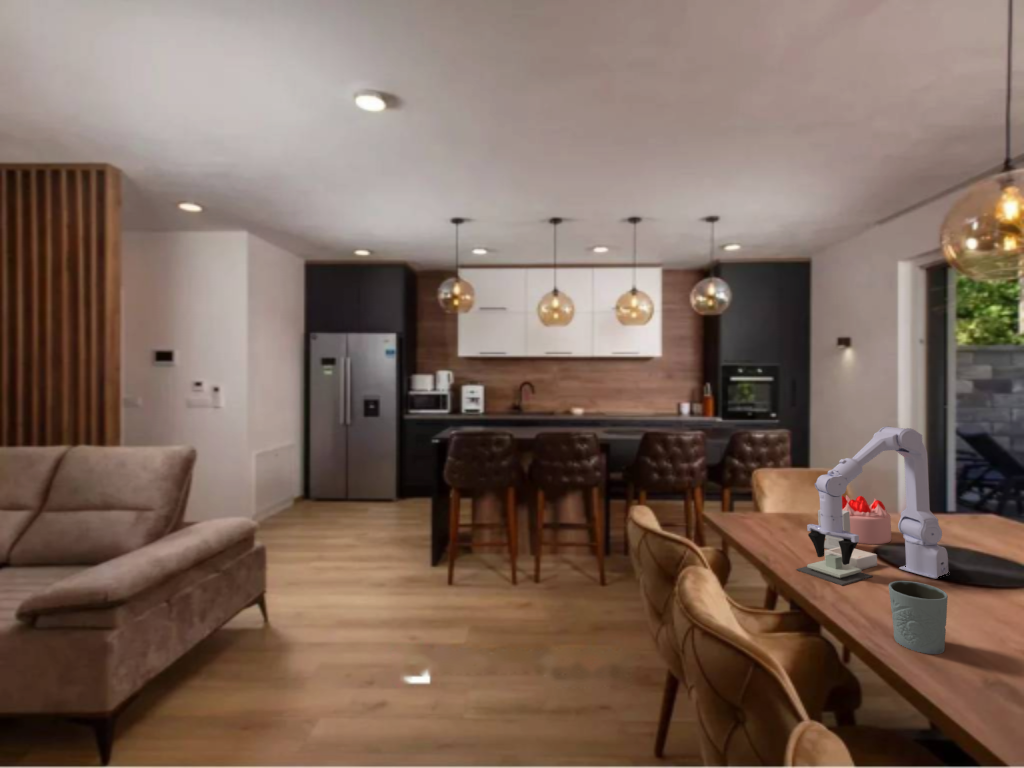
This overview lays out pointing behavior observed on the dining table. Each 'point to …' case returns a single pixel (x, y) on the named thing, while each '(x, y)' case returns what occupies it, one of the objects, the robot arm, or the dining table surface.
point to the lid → (834, 567)
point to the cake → (868, 520)
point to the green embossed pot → (919, 616)
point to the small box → (834, 541)
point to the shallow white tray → (857, 558)
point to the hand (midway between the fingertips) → (833, 560)
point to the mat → (839, 581)
